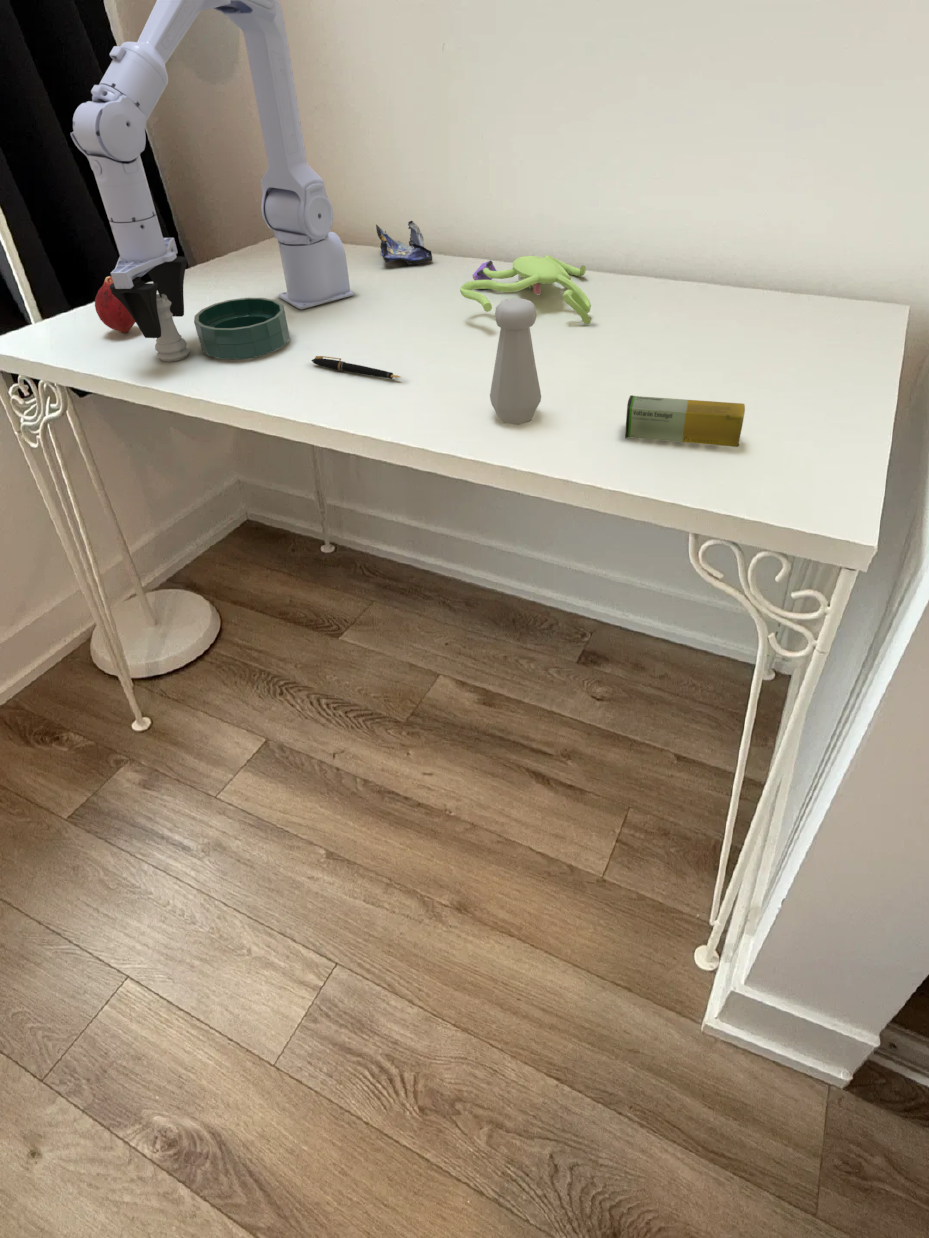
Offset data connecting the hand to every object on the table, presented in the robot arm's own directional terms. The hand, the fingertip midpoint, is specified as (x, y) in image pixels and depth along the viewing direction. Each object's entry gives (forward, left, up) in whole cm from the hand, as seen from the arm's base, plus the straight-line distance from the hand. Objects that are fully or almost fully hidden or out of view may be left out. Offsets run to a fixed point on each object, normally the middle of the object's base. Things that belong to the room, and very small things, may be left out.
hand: (165, 326), depth 106 cm
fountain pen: (-16, +22, -4) cm, 28 cm away
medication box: (-34, +61, -4) cm, 70 cm away
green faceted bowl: (-9, +3, -4) cm, 11 cm away
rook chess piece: (0, 0, -4) cm, 4 cm away
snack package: (-47, -15, -4) cm, 50 cm away
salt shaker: (-24, +45, -4) cm, 52 cm away
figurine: (-49, +17, -4) cm, 53 cm away
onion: (+3, -14, -4) cm, 15 cm away
